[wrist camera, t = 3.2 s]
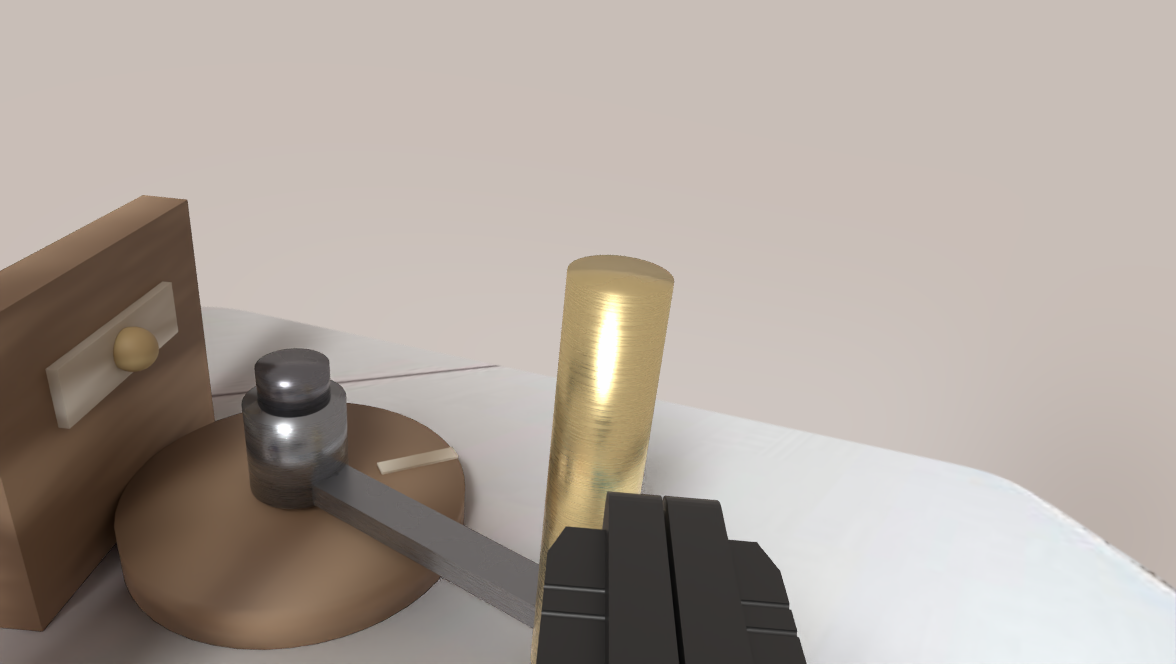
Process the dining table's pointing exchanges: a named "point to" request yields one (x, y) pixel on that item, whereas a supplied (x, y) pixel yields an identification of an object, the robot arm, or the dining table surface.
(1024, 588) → the dining table surface
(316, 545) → the stand
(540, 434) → the dining table surface
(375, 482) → the crank handle
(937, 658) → the dining table surface
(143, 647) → the dining table surface
